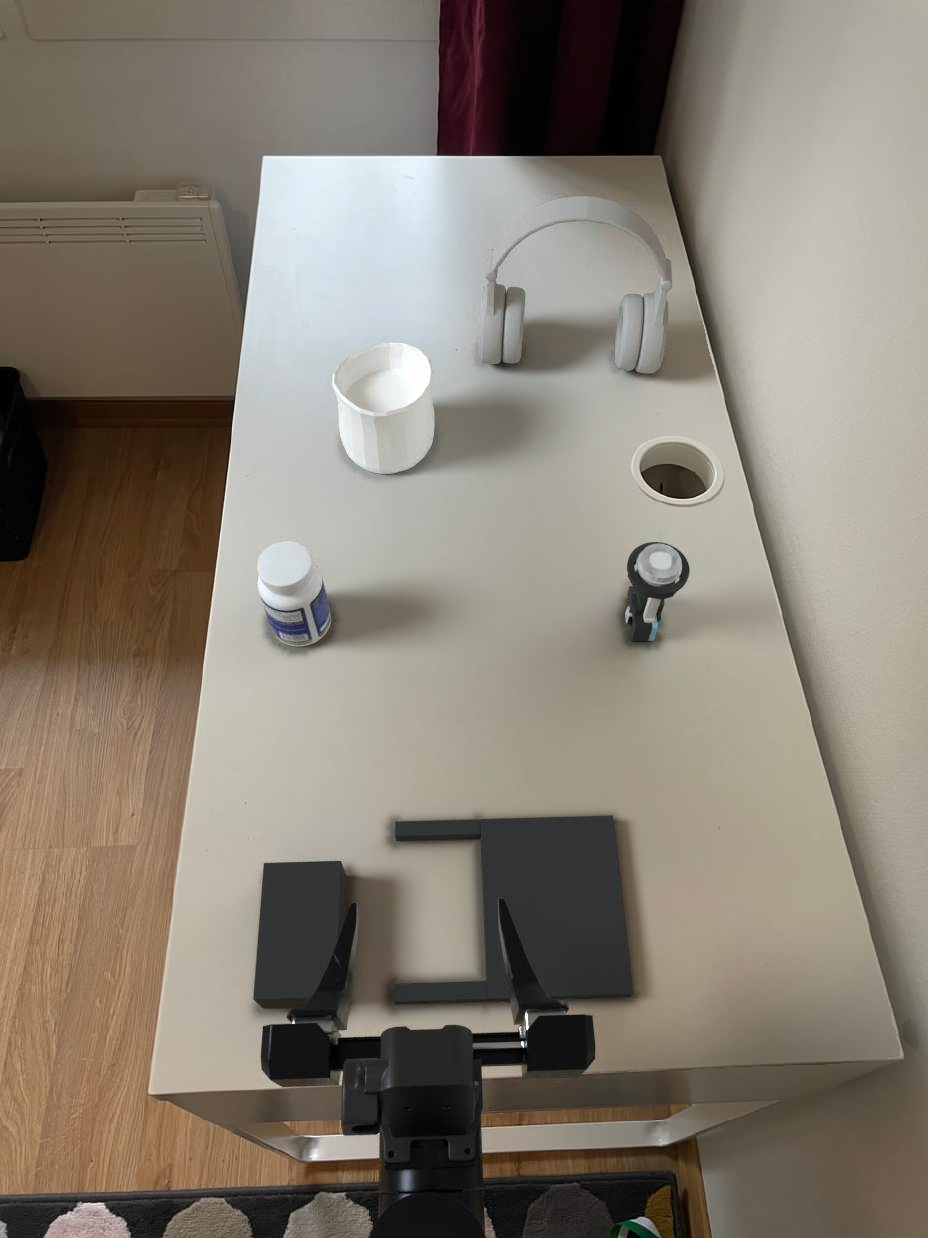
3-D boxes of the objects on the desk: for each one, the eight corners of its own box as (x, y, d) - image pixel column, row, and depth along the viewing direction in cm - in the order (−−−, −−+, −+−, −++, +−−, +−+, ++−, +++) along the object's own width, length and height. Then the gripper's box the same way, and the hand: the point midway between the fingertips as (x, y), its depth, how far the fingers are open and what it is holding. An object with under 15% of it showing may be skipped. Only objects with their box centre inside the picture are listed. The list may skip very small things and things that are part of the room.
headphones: (655, 336, 110) (690, 184, 93) (657, 390, 105) (694, 240, 89) (481, 326, 110) (485, 173, 94) (476, 379, 106) (479, 228, 89)
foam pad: (342, 1006, 72) (336, 997, 69) (262, 1009, 72) (252, 999, 69) (346, 875, 78) (341, 860, 74) (272, 877, 77) (263, 862, 74)
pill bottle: (309, 586, 92) (293, 524, 83) (344, 626, 90) (332, 566, 81) (258, 618, 90) (238, 558, 81) (293, 660, 88) (275, 602, 79)
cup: (326, 460, 100) (314, 393, 92) (371, 396, 105) (363, 327, 96) (407, 490, 98) (403, 425, 90) (449, 424, 103) (449, 356, 94)
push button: (608, 585, 92) (624, 523, 84) (663, 584, 92) (685, 522, 84) (615, 645, 89) (633, 587, 80) (673, 644, 89) (696, 586, 80)
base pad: (630, 997, 73) (633, 994, 72) (394, 1004, 73) (393, 1002, 71) (610, 820, 80) (612, 815, 79) (395, 826, 80) (395, 821, 79)
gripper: (624, 1183, 45) (591, 858, 53) (228, 1197, 45) (255, 868, 53) (595, 1185, 55) (571, 909, 63) (268, 1197, 54) (286, 917, 62)
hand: (428, 901), depth 60 cm, fingers open, 9 cm apart
